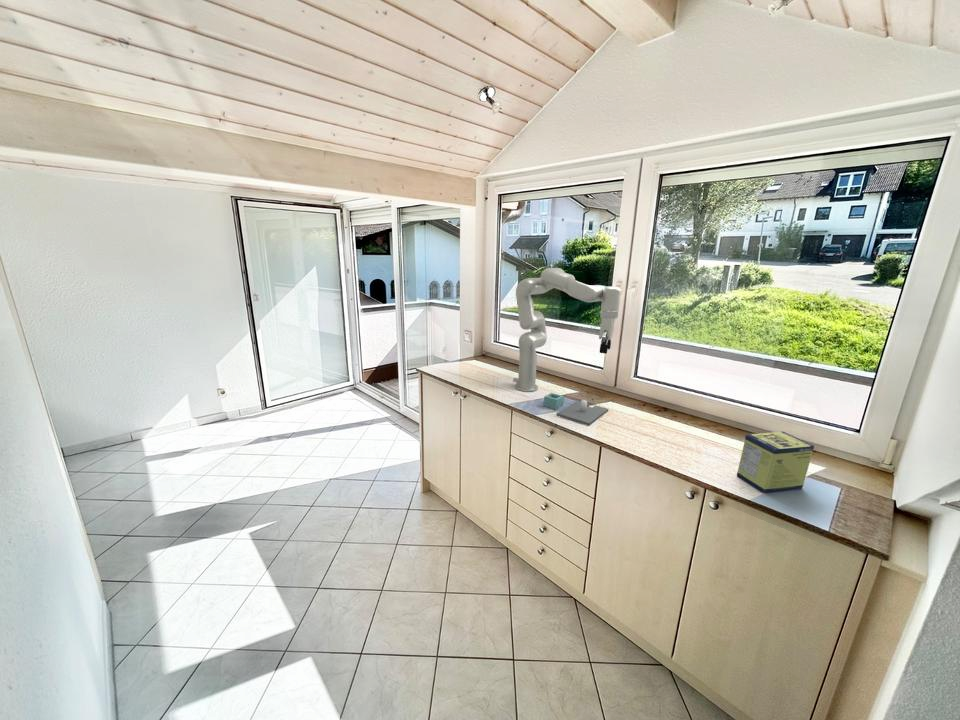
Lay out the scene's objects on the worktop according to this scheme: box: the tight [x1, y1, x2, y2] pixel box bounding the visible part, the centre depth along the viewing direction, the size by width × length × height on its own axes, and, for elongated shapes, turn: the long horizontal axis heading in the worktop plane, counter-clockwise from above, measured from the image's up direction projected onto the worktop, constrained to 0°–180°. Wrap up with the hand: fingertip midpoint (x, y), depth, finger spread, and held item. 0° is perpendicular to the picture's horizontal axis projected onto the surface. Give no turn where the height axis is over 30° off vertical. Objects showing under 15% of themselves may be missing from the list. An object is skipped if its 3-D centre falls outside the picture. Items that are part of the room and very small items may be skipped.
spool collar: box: [543, 392, 565, 410], centre depth 184 cm, size 7×7×5 cm
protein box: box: [736, 431, 815, 494], centre depth 122 cm, size 10×16×16 cm
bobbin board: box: [555, 399, 609, 426], centre depth 175 cm, size 16×22×6 cm
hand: (604, 350), depth 174 cm, fingers open, 9 cm apart
